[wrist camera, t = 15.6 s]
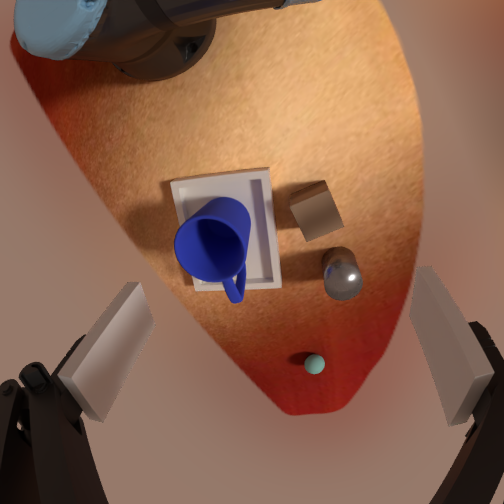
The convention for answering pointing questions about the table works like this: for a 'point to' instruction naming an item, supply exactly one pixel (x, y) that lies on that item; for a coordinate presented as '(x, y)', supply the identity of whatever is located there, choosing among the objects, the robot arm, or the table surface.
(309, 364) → the ball
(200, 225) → the mug
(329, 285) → the tin
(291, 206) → the walnut block
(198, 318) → the table surface
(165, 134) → the table surface
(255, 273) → the tray
